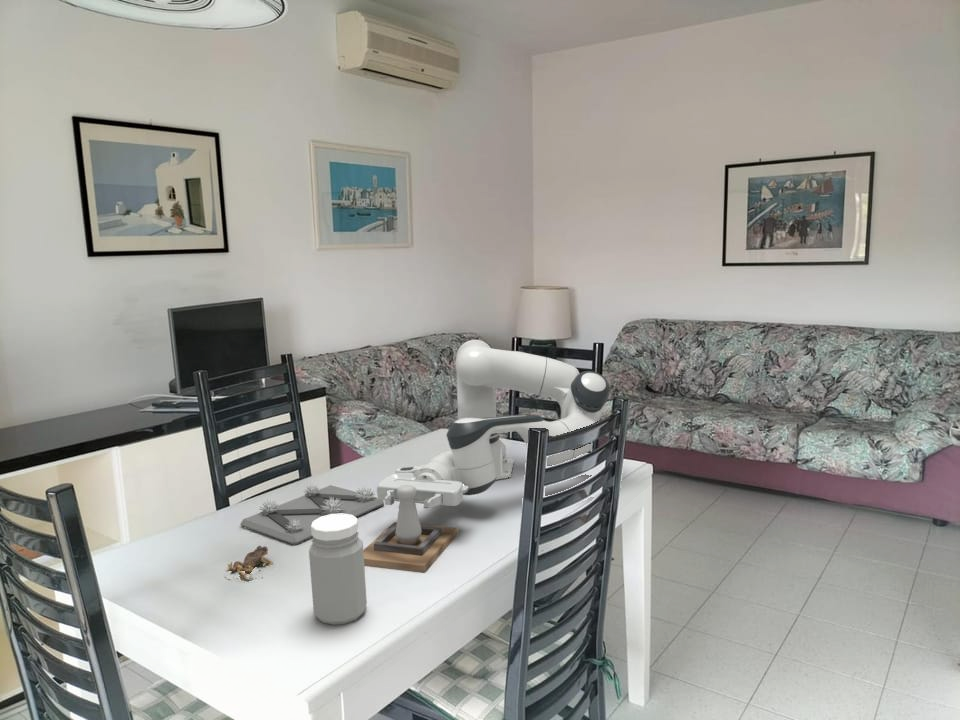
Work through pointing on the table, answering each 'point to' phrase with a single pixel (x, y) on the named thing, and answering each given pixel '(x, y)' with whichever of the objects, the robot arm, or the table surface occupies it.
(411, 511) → the salt shaker
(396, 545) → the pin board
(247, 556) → the frog figurine
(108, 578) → the table surface
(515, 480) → the table surface
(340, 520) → the jar
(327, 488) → the decorative plate
